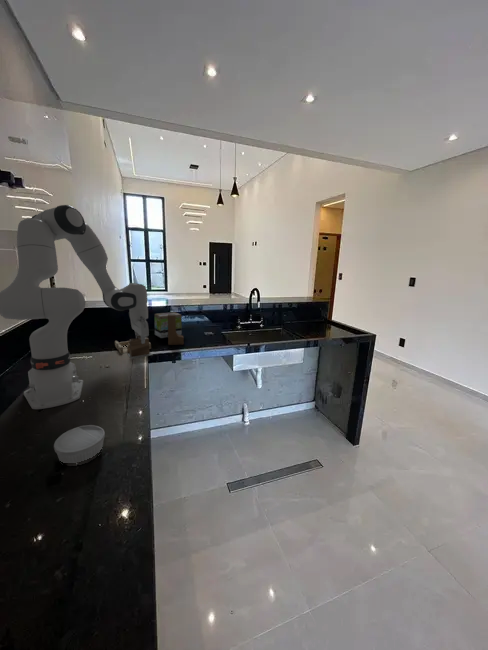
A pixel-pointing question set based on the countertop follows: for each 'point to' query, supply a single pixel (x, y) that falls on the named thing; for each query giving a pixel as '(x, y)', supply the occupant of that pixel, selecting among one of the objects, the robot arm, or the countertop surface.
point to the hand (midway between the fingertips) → (140, 341)
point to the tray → (124, 349)
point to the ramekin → (79, 443)
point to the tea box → (166, 324)
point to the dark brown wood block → (138, 347)
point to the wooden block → (173, 332)
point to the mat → (139, 356)
